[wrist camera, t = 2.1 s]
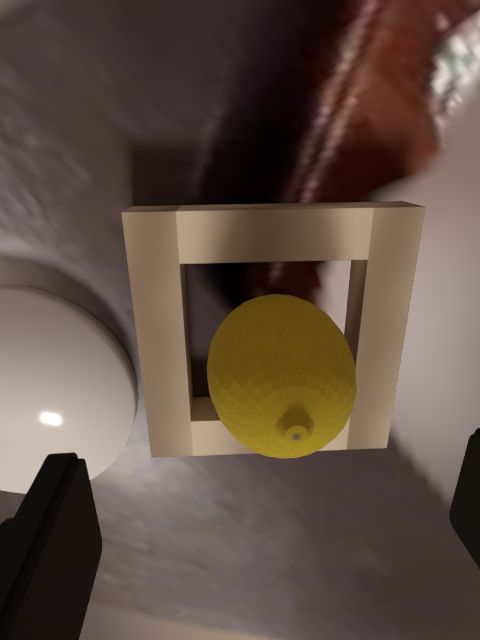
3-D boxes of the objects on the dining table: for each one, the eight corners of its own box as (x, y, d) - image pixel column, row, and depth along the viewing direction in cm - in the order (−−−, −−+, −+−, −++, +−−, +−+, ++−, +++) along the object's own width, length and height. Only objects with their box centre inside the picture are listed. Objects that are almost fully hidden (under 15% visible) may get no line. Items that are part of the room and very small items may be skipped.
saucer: (124, 281, 18) (117, 289, 17) (148, 471, 22) (144, 488, 21) (-130, 287, 17) (-154, 296, 16) (-55, 480, 22) (-70, 497, 20)
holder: (403, 201, 17) (425, 206, 15) (372, 422, 21) (386, 447, 20) (132, 206, 17) (121, 212, 15) (157, 431, 21) (151, 457, 19)
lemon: (190, 299, 18) (169, 396, 11) (303, 253, 18) (363, 323, 10) (236, 392, 20) (245, 528, 13) (339, 354, 20) (409, 472, 12)
